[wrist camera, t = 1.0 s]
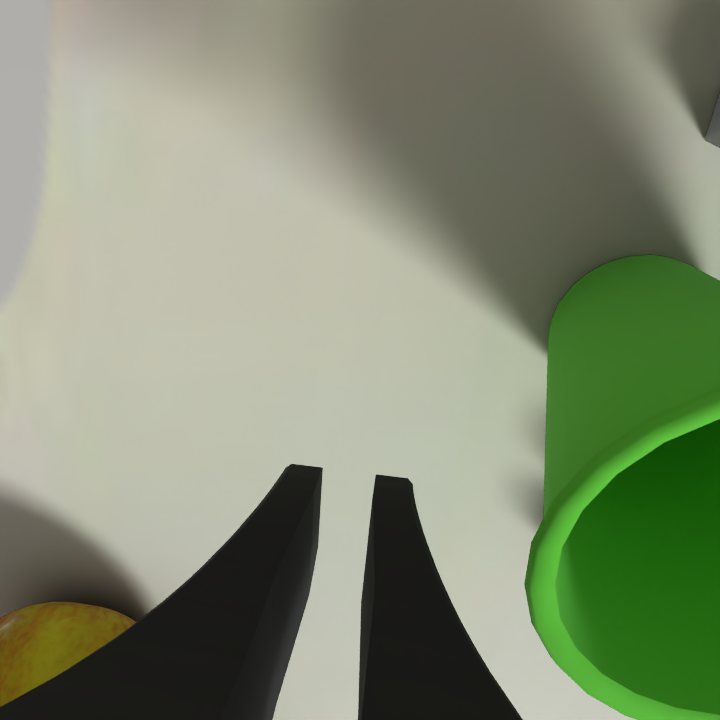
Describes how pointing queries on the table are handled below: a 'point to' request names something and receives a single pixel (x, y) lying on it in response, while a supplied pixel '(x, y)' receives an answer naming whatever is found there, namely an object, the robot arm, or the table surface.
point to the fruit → (51, 642)
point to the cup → (633, 490)
